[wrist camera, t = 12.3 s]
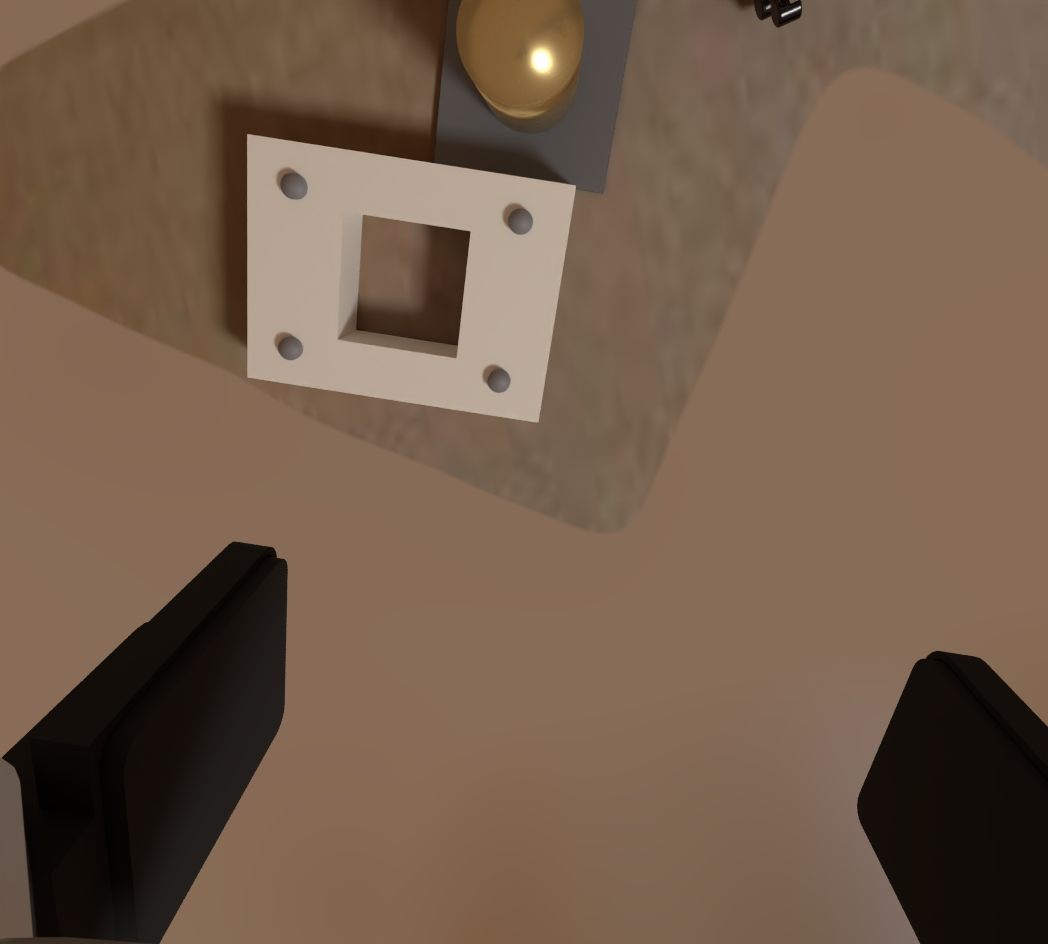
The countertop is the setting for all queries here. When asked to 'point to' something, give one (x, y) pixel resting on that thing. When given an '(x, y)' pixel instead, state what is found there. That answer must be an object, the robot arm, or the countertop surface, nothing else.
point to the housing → (334, 263)
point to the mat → (564, 149)
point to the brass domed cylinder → (523, 58)
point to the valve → (778, 11)
